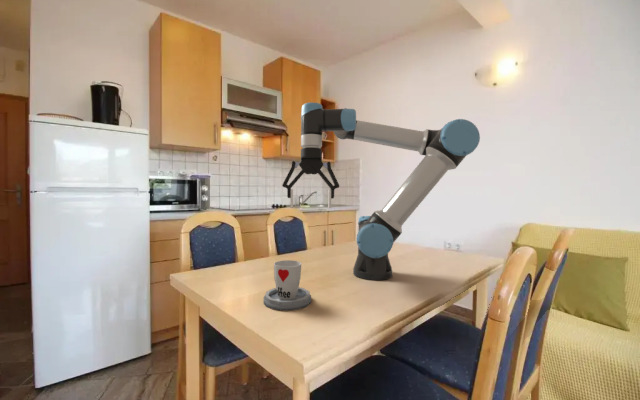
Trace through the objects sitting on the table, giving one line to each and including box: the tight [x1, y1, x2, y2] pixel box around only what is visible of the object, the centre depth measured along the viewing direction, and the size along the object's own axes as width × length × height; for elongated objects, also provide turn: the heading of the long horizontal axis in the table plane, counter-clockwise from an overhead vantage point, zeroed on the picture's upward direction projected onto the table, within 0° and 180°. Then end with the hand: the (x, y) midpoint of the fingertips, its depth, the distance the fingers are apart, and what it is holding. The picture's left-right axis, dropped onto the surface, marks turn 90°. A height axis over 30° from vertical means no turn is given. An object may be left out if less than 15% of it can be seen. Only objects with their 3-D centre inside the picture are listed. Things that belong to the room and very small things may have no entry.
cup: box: [273, 259, 302, 300], centre depth 86 cm, size 8×8×10 cm
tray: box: [263, 286, 312, 312], centre depth 87 cm, size 14×14×2 cm
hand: (310, 207), depth 105 cm, fingers open, 13 cm apart
